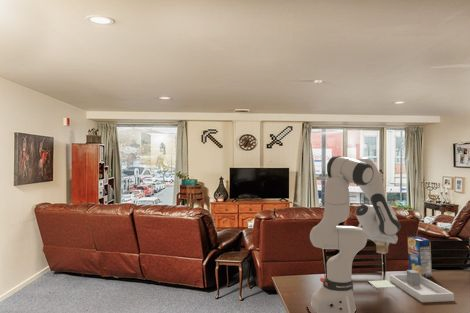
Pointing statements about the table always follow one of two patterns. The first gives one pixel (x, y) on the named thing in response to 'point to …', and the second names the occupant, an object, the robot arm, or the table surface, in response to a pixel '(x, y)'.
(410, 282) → the grey box
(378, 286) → the sage board
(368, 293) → the table surface
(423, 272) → the beverage box
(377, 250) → the banded box
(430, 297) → the bin
